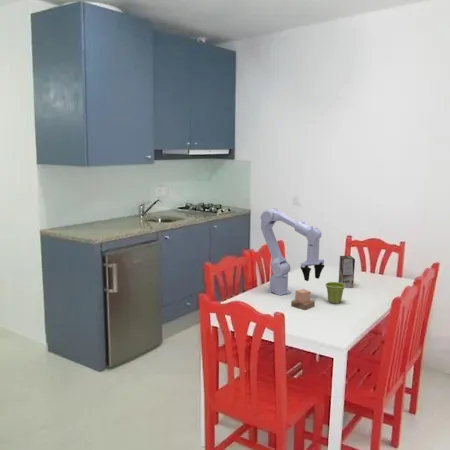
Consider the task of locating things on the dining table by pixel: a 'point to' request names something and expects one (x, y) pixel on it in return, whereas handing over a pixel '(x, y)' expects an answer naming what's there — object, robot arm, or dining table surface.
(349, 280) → the coffee box
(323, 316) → the dining table surface
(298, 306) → the walnut block
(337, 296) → the plant pot
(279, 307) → the dining table surface
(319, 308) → the dining table surface
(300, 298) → the terracotta cube
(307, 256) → the robot arm
